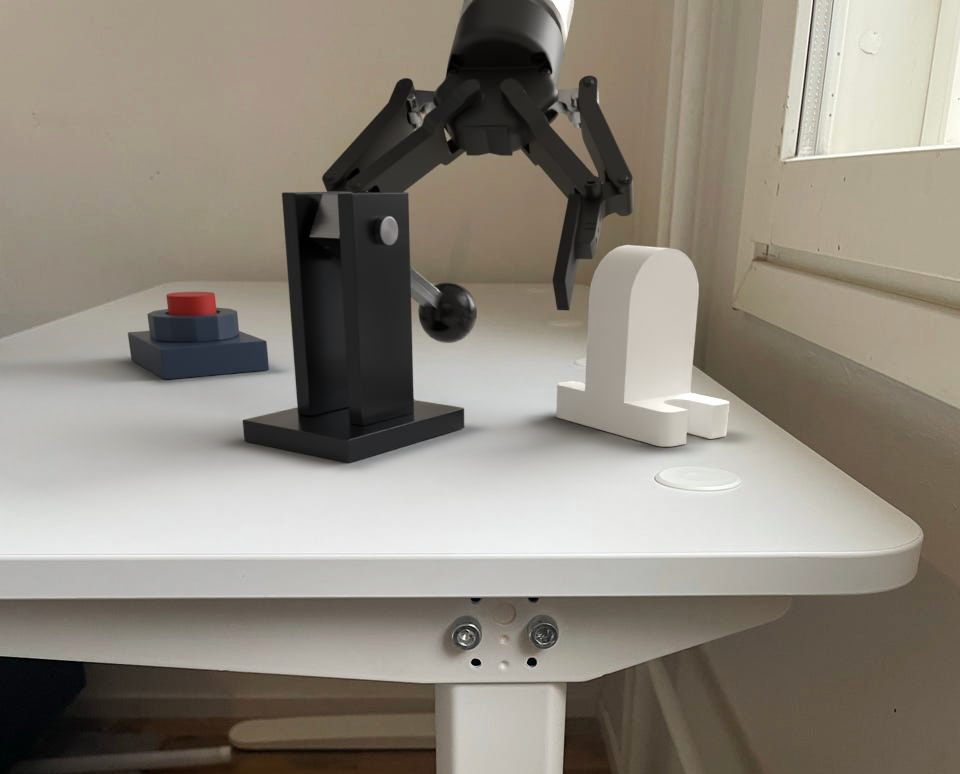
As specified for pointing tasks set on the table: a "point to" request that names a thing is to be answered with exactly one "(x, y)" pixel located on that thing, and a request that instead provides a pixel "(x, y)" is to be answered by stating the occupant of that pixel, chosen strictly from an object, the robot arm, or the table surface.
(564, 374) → the table surface
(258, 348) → the switch box
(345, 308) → the bracket
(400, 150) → the robot arm
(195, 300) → the stop button
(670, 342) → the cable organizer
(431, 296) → the lever
